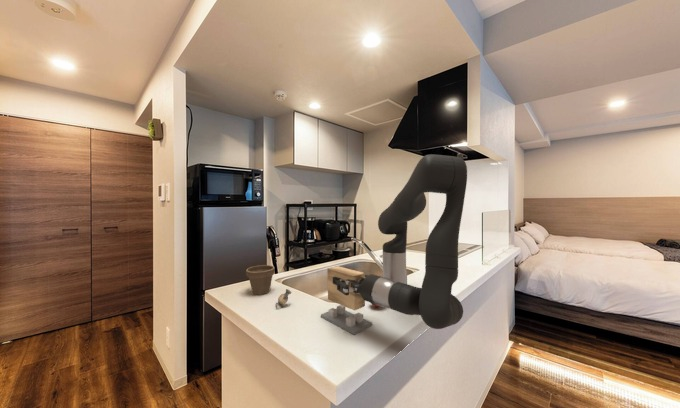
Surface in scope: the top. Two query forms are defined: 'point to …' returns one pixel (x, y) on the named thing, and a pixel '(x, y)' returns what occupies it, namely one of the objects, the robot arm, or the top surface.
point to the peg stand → (346, 319)
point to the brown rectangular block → (353, 299)
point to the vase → (283, 299)
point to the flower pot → (260, 278)
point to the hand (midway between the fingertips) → (339, 278)
